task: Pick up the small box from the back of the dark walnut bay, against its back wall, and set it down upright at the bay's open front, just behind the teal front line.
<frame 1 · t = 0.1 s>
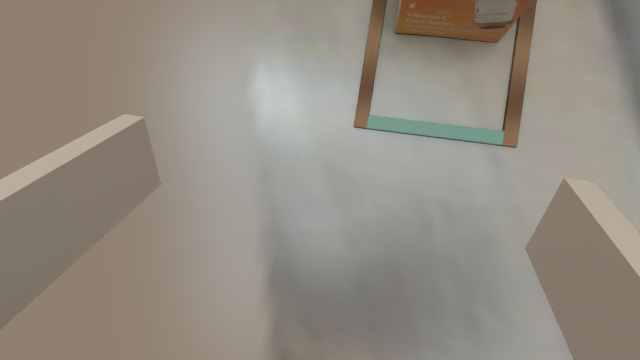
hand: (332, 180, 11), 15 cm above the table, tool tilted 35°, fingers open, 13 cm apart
small box: (450, 6, 26), on the table
bay: (451, 4, 26), on the table
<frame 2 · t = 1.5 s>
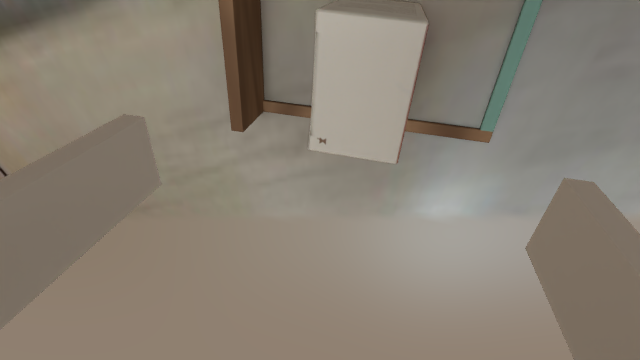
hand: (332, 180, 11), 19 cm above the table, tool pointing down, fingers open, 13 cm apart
small box: (375, 53, 27), on the table
bay: (375, 54, 26), on the table
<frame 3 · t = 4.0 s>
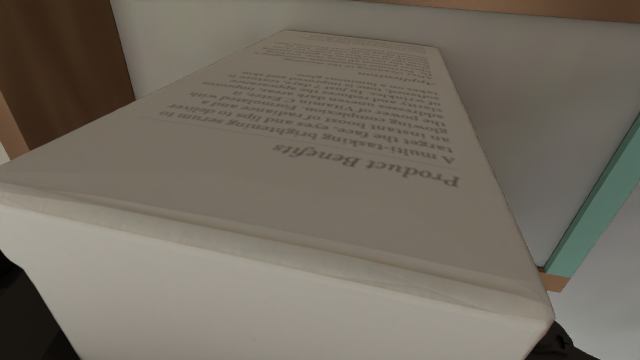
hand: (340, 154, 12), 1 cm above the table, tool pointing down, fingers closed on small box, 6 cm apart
small box: (347, 136, 14), on the table, touching gripper
bay: (346, 138, 13), on the table
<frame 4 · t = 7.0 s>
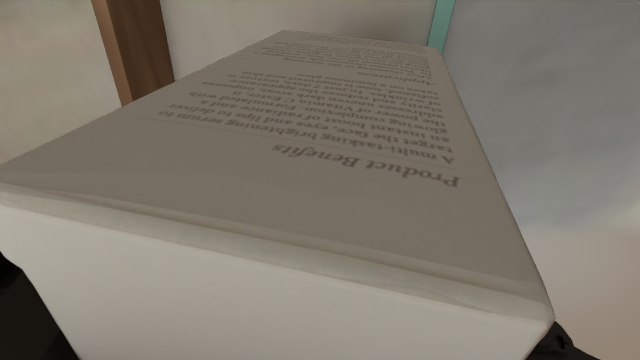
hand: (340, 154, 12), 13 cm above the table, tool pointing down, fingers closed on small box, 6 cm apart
small box: (346, 136, 14), point 11 cm above the table, touching gripper
bay: (287, 58, 24), on the table
when the fingers open (3 cm above the table, at t = 9.9 s): small box drops 1 cm, on the table.
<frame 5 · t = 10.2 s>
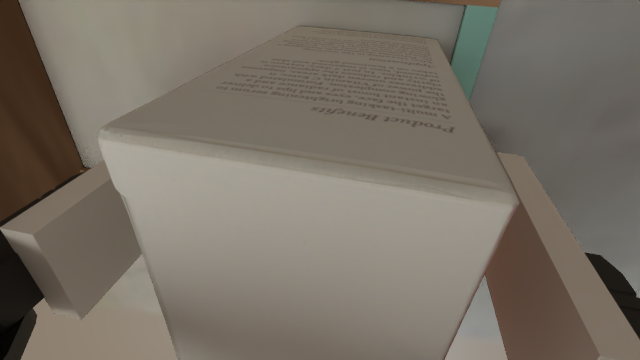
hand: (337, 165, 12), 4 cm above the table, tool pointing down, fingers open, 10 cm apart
small box: (355, 123, 15), on the table
bay: (224, 107, 16), on the table
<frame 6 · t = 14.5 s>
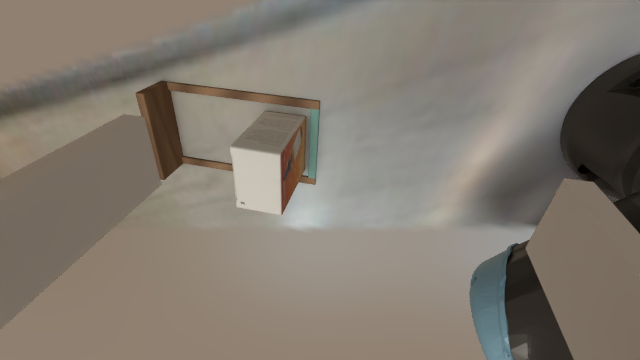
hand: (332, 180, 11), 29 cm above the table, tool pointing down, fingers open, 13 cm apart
small box: (286, 140, 44), on the table
bay: (241, 134, 44), on the table
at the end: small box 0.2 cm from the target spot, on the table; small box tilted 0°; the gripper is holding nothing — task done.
